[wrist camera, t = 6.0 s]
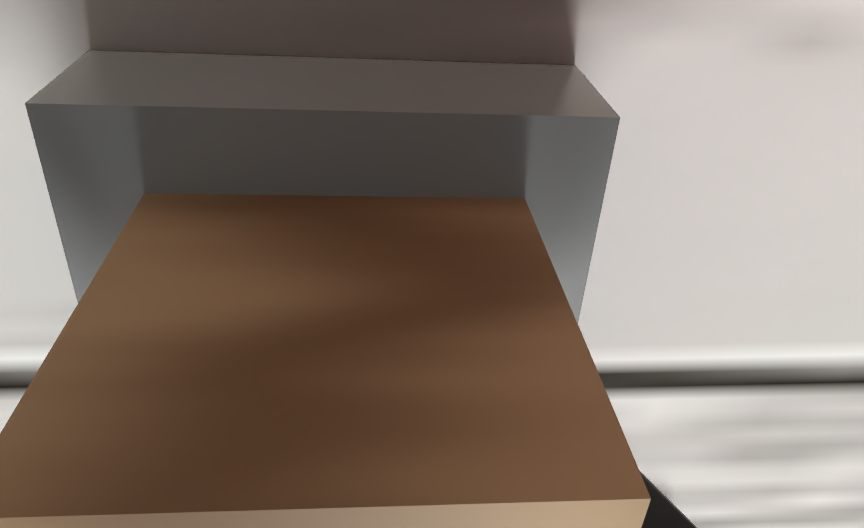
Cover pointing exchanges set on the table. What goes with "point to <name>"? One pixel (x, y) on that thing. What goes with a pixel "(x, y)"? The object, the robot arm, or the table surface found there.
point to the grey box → (321, 140)
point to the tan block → (320, 376)
